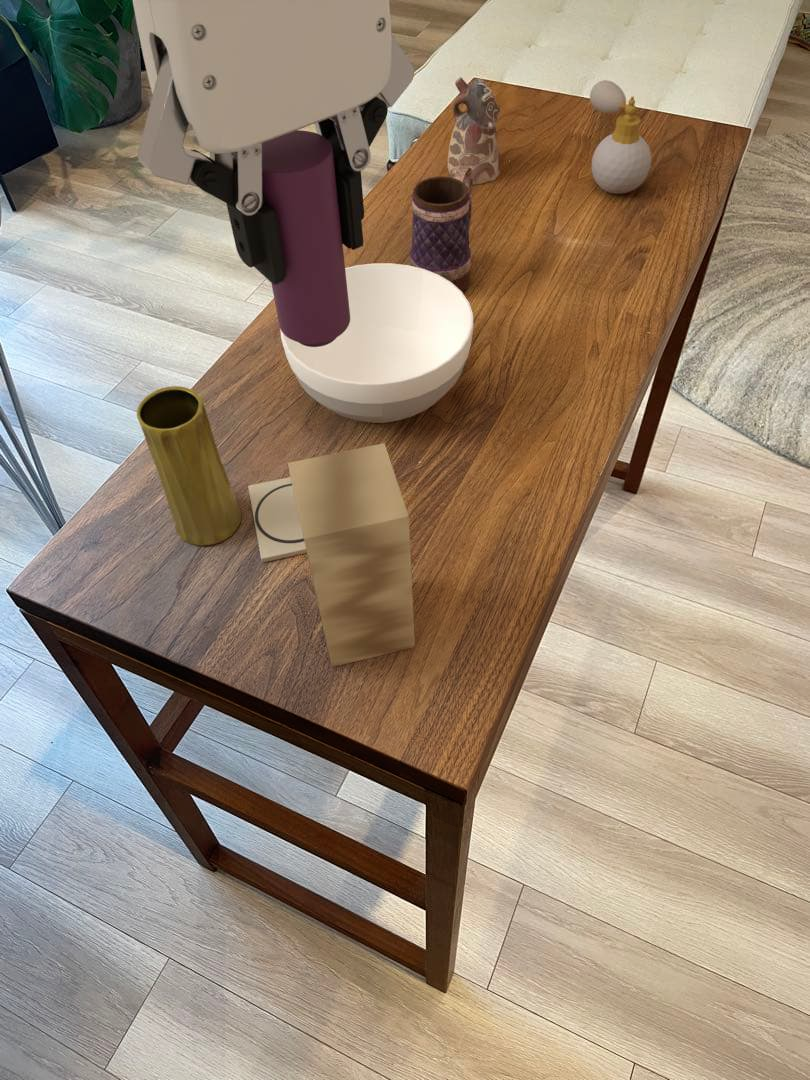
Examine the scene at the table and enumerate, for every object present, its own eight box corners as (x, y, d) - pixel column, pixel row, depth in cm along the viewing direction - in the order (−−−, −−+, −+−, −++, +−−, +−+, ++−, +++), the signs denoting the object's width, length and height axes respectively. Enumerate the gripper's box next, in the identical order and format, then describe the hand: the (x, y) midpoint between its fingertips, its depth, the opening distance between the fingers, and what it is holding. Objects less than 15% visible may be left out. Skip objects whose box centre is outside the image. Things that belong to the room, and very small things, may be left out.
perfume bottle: (632, 209, 107) (651, 114, 97) (563, 190, 110) (574, 96, 101) (654, 181, 111) (673, 87, 101) (586, 164, 114) (599, 72, 104)
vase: (236, 546, 75) (200, 434, 64) (170, 547, 75) (122, 435, 64) (246, 495, 79) (213, 381, 68) (182, 496, 79) (139, 382, 68)
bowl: (256, 412, 86) (240, 345, 79) (354, 312, 96) (347, 244, 89) (414, 477, 80) (411, 410, 73) (502, 363, 89) (507, 294, 82)
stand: (331, 667, 67) (304, 538, 54) (316, 598, 72) (287, 462, 58) (415, 647, 68) (409, 516, 55) (395, 580, 72) (384, 442, 59)
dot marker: (287, 361, 46) (253, 178, 38) (276, 318, 48) (241, 137, 40) (358, 348, 46) (339, 164, 38) (343, 305, 49) (323, 124, 40)
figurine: (488, 189, 111) (492, 96, 101) (439, 179, 113) (439, 87, 103) (507, 163, 115) (512, 71, 105) (459, 154, 117) (460, 63, 107)
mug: (451, 307, 96) (452, 211, 86) (399, 289, 98) (394, 193, 88) (493, 262, 101) (499, 166, 91) (442, 246, 103) (443, 151, 94)
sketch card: (262, 562, 74) (260, 558, 73) (249, 489, 79) (247, 484, 79) (382, 536, 75) (381, 532, 75) (361, 466, 81) (360, 461, 80)
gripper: (371, -264, 34) (392, 171, 48) (-37, -186, 28) (127, 281, 42) (490, -237, 30) (474, 227, 44) (46, -140, 24) (195, 356, 39)
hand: (304, 250), depth 43 cm, fingers closed on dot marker, 4 cm apart
